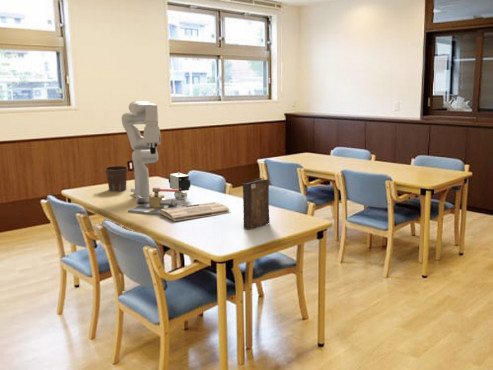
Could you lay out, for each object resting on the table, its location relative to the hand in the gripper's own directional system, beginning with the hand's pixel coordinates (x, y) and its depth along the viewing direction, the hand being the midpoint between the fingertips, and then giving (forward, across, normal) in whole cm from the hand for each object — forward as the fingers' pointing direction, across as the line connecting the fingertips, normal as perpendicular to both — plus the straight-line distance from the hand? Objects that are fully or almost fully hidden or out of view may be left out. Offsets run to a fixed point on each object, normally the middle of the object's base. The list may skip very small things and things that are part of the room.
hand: (153, 153), depth 303 cm
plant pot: (+32, -47, +29) cm, 64 cm away
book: (+32, +76, -28) cm, 87 cm away
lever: (+21, +14, -11) cm, 28 cm away
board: (+32, +8, -12) cm, 35 cm away
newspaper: (+32, +35, -15) cm, 50 cm away
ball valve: (+32, +9, +18) cm, 38 cm away
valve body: (+31, +8, -12) cm, 34 cm away
